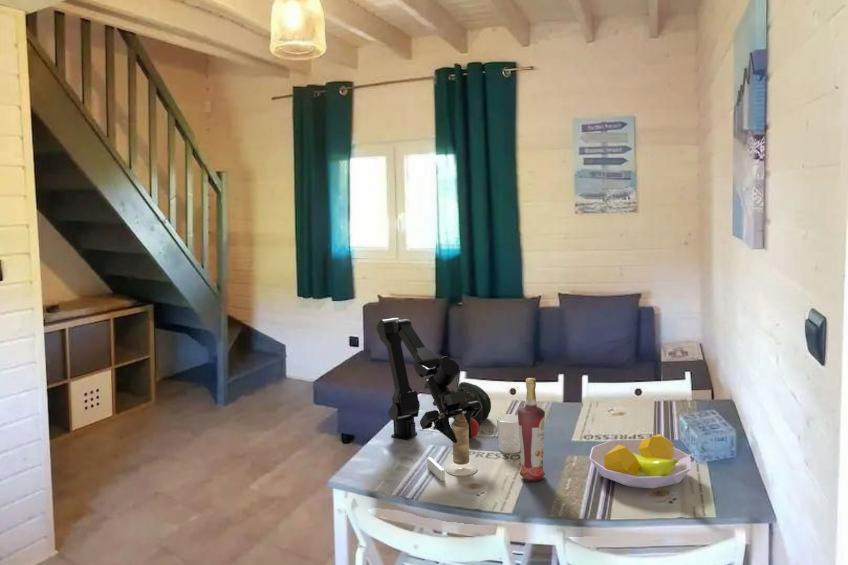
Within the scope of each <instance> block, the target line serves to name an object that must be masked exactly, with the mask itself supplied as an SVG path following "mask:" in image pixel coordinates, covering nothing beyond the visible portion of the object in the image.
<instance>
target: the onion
mask: <svg viewBox="0 0 848 565" xmlns="http://www.w3.org/2000/svg"><path fill="white" fill-rule="evenodd" d="M470 426H471V435H472V438H471V439H470V440H472V439H473V438H475V437H476V436H477V435H478V434H479V431H480V425H479V424H478V423H477V421H476V420H475V419H473V418H471V419H470Z"/></svg>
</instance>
